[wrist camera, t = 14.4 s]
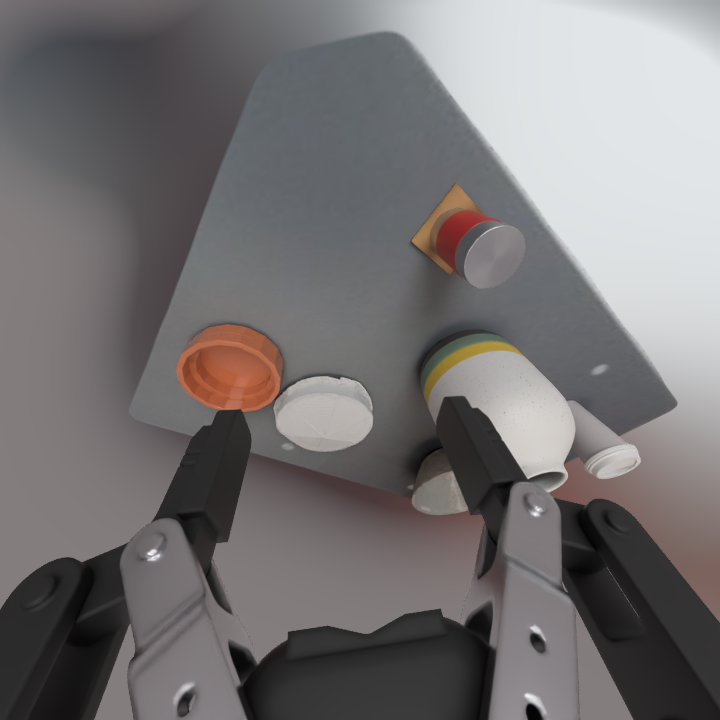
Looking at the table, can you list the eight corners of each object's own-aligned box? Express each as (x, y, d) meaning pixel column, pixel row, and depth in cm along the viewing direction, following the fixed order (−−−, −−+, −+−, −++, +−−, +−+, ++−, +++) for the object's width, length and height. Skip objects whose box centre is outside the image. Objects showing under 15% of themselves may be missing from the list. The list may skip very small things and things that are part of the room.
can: (419, 240, 35) (450, 267, 26) (455, 195, 32) (503, 209, 24) (450, 267, 38) (487, 300, 29) (485, 228, 35) (538, 251, 26)
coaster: (410, 240, 35) (411, 241, 35) (455, 183, 32) (456, 183, 32) (448, 274, 39) (449, 275, 39) (493, 225, 35) (494, 226, 35)
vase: (456, 401, 57) (522, 523, 38) (395, 374, 50) (438, 506, 31) (521, 344, 49) (645, 462, 30) (458, 302, 42) (568, 422, 23)
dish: (178, 371, 44) (164, 392, 40) (208, 305, 38) (195, 322, 34) (261, 401, 51) (256, 422, 47) (299, 349, 44) (296, 368, 40)
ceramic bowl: (451, 482, 80) (465, 518, 72) (386, 471, 72) (394, 510, 64) (504, 440, 68) (527, 477, 60) (433, 421, 60) (450, 461, 52)
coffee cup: (535, 423, 65) (582, 482, 53) (556, 395, 59) (614, 454, 47) (568, 422, 66) (621, 480, 55) (593, 395, 61) (657, 453, 49)
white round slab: (393, 404, 55) (400, 430, 50) (330, 449, 63) (330, 476, 57) (319, 354, 45) (318, 380, 40) (254, 414, 53) (246, 443, 47)
